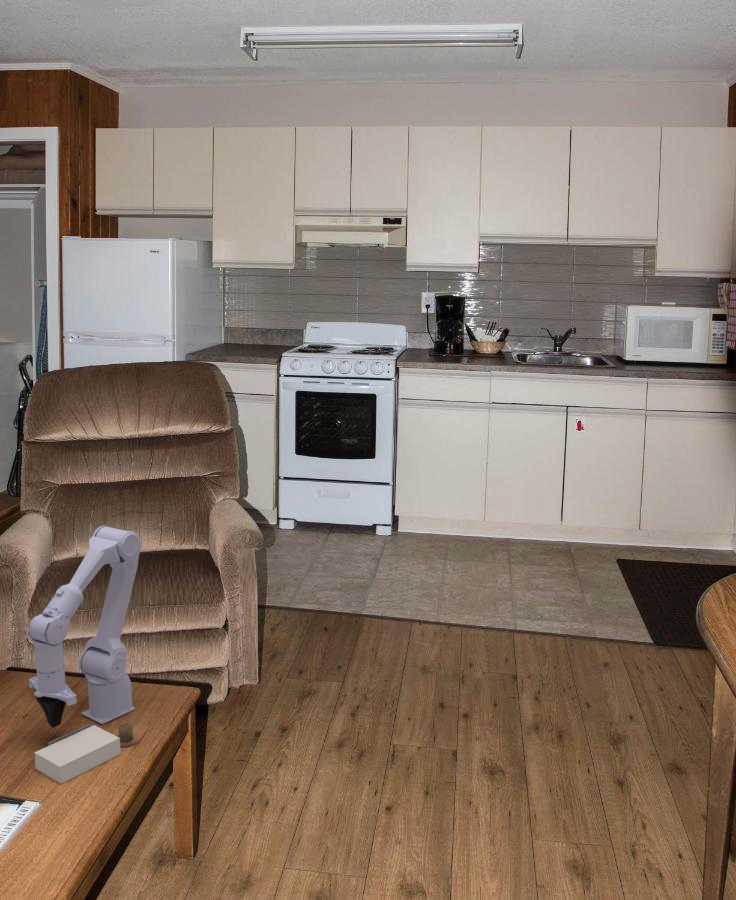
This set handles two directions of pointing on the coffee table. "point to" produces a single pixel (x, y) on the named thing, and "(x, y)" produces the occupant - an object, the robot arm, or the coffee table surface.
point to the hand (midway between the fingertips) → (55, 725)
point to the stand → (127, 736)
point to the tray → (69, 734)
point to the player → (77, 754)
